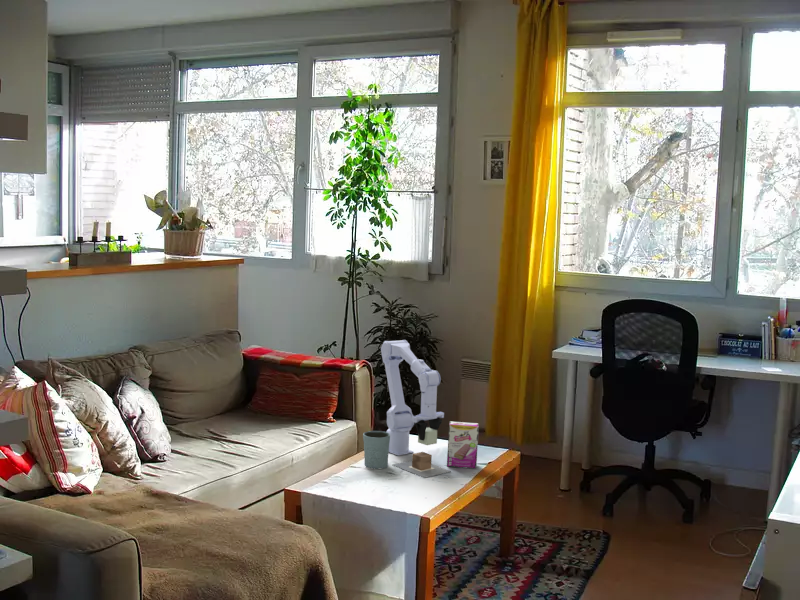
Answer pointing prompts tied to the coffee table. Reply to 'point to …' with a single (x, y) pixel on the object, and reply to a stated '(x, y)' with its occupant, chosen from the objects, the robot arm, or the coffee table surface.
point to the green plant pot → (376, 449)
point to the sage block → (429, 437)
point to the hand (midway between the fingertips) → (427, 438)
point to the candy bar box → (462, 444)
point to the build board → (423, 473)
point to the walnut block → (421, 461)
